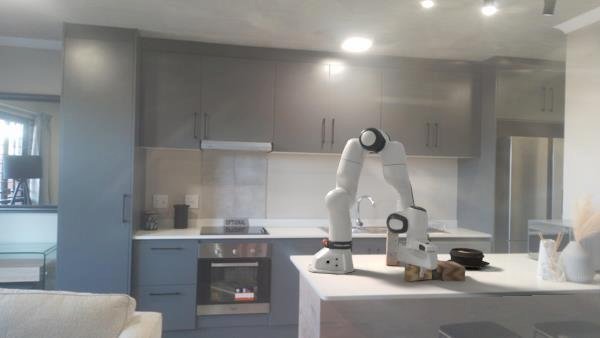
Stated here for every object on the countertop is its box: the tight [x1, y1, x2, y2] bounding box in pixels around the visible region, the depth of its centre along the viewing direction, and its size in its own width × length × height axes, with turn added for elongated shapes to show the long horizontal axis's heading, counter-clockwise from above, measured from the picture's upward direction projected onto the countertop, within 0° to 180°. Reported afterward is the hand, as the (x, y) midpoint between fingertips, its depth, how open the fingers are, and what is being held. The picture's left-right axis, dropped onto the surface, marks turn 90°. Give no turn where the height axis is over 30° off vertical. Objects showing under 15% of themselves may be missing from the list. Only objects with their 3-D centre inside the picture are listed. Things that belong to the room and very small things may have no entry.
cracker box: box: [385, 227, 400, 267], centre depth 215 cm, size 14×6×21 cm, turn 168°
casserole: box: [446, 247, 491, 270], centre depth 211 cm, size 25×19×8 cm
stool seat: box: [431, 260, 466, 282], centre depth 187 cm, size 15×12×6 cm
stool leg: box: [404, 265, 437, 282], centre depth 181 cm, size 16×3×6 cm, turn 113°
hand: (415, 275), depth 179 cm, fingers open, 4 cm apart
